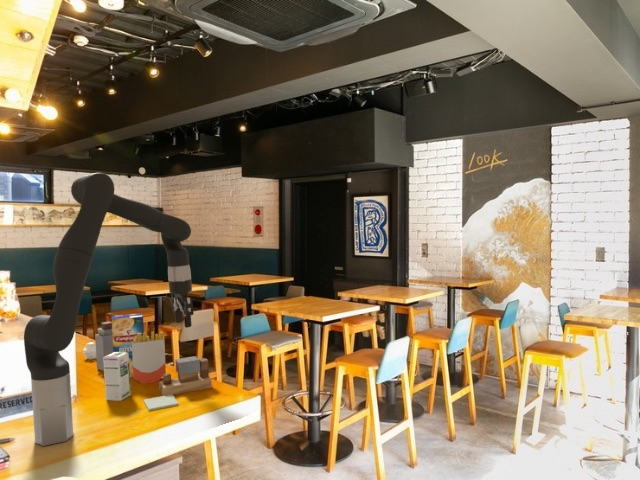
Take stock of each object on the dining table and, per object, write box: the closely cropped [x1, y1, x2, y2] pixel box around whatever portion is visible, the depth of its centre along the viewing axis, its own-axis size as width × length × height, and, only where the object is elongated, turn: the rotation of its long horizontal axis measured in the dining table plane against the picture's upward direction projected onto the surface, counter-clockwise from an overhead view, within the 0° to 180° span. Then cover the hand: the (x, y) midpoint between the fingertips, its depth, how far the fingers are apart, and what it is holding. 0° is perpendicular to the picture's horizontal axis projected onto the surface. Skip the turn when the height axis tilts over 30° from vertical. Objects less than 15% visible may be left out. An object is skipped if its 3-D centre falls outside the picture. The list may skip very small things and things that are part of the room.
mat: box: [143, 394, 180, 412], centre depth 161 cm, size 9×9×1 cm
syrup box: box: [103, 352, 132, 402], centre depth 166 cm, size 6×6×14 cm
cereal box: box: [111, 312, 145, 378], centre depth 191 cm, size 7×11×22 cm, turn 112°
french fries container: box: [132, 331, 167, 384], centre depth 183 cm, size 5×11×18 cm, turn 113°
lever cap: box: [174, 355, 200, 375], centre depth 173 cm, size 5×7×4 cm
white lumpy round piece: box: [82, 341, 96, 360], centre depth 214 cm, size 6×6×7 cm
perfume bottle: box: [94, 321, 113, 372], centre depth 199 cm, size 7×7×18 cm
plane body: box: [158, 357, 213, 396], centre depth 173 cm, size 7×16×9 cm, turn 118°
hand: (183, 324), depth 176 cm, fingers open, 8 cm apart
